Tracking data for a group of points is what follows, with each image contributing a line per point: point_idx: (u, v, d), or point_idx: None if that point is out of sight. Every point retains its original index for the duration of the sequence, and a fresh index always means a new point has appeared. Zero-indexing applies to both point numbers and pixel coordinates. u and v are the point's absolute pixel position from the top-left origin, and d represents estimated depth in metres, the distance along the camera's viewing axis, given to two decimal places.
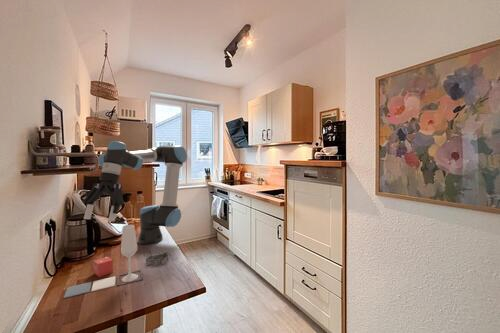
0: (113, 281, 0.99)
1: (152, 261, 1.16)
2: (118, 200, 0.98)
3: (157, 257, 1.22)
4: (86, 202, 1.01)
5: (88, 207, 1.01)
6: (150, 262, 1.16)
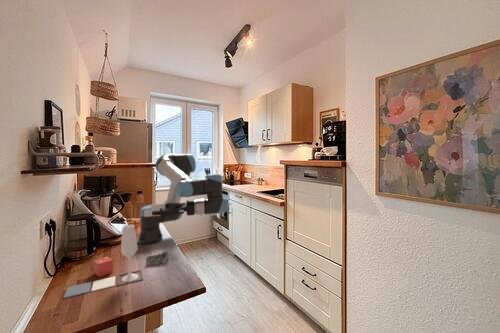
0: (113, 281, 0.99)
1: (152, 261, 1.16)
2: None
3: (157, 257, 1.21)
4: None
5: None
6: (150, 262, 1.15)
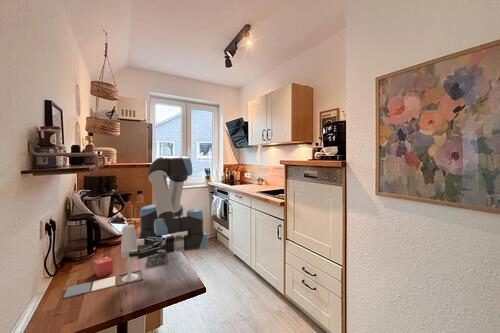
0: (113, 281, 0.99)
1: (153, 261, 1.16)
2: None
3: (155, 257, 1.21)
4: None
5: None
6: (151, 262, 1.15)
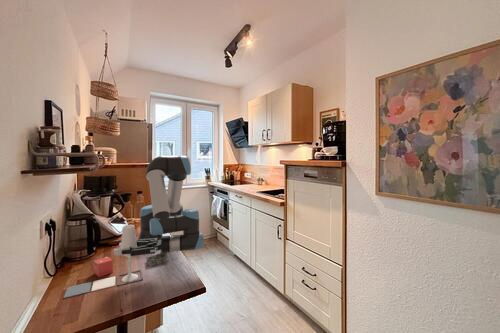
0: (113, 281, 0.99)
1: (153, 261, 1.16)
2: None
3: None
4: (131, 254, 0.98)
5: None
6: (152, 262, 1.15)
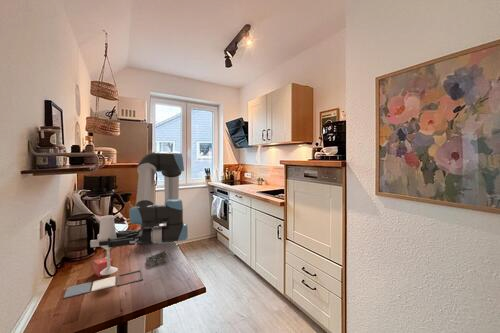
0: (113, 281, 0.99)
1: (154, 261, 1.16)
2: None
3: None
4: None
5: None
6: (152, 262, 1.15)
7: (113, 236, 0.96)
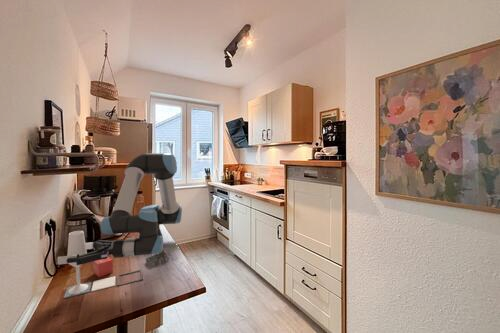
0: (113, 281, 0.99)
1: (155, 261, 1.16)
2: None
3: None
4: None
5: None
6: (153, 262, 1.15)
7: (82, 253, 0.92)
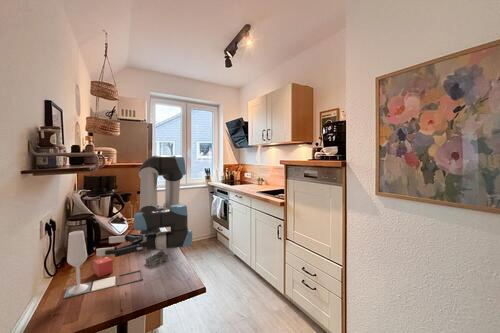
0: (113, 281, 0.99)
1: (156, 261, 1.16)
2: None
3: None
4: None
5: None
6: (155, 262, 1.15)
7: (82, 253, 0.92)
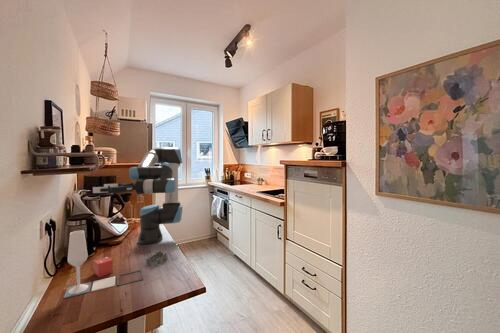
0: (113, 281, 0.99)
1: (157, 261, 1.16)
2: None
3: (152, 258, 1.20)
4: (109, 192, 1.07)
5: None
6: (156, 262, 1.15)
7: (83, 253, 0.92)
